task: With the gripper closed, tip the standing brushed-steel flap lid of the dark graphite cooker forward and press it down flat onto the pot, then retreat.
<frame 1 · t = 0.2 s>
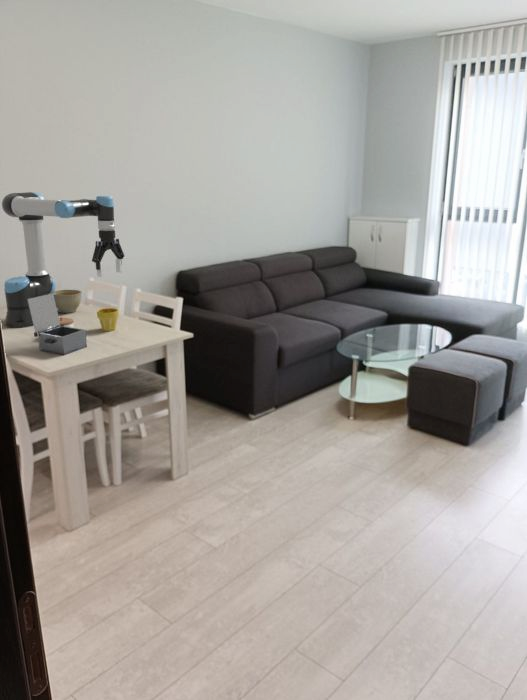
hand: (109, 274, 278), 28 cm above the table, fingers open, 13 cm apart
plant pot: (109, 329, 288), on the table
planter bowl: (68, 311, 323), on the table
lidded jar: (63, 336, 275), on the table
lid: (43, 313, 255), point 15 cm above the table, hinge at 100.0°
cooker: (63, 348, 256), on the table
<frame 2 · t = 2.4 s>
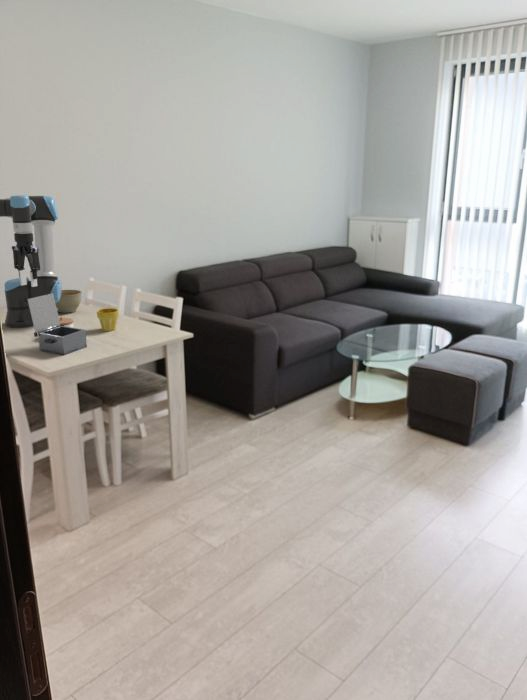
hand: (29, 285, 255), 27 cm above the table, fingers open, 6 cm apart
nothing on the table moved.
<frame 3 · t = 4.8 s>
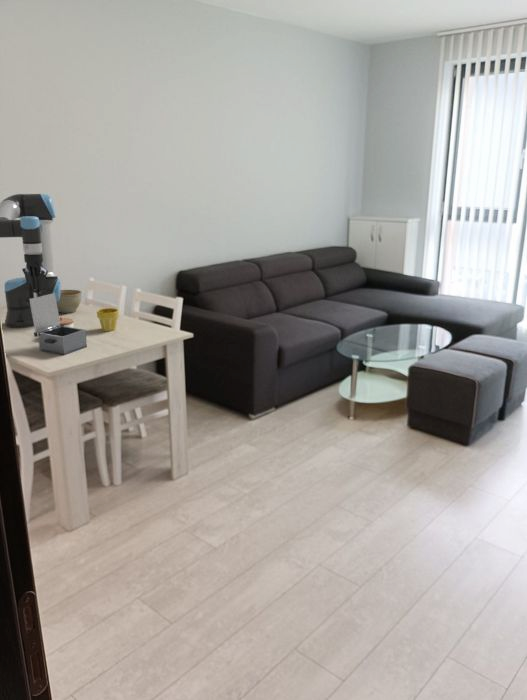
hand: (38, 306, 255), 18 cm above the table, fingers closed
lid: (44, 313, 255), point 15 cm above the table, hinge at 95.5°, touching gripper
everything else where it was.
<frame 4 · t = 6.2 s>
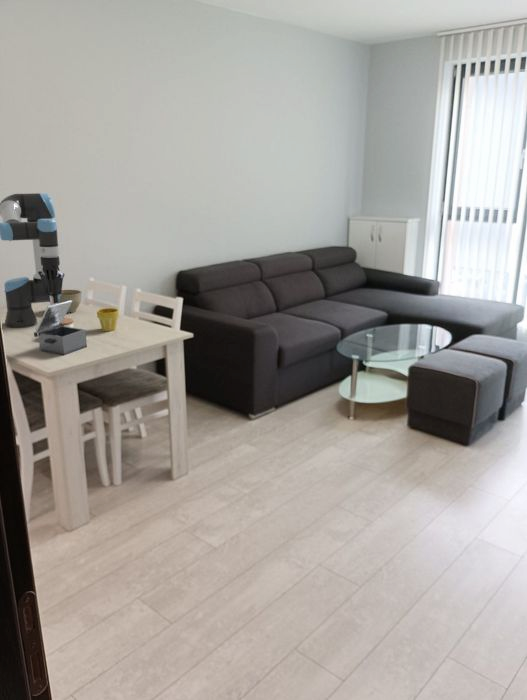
hand: (54, 310, 252), 17 cm above the table, fingers closed
lid: (53, 315, 253), point 15 cm above the table, hinge at 54.6°, touching gripper
everything else where it was.
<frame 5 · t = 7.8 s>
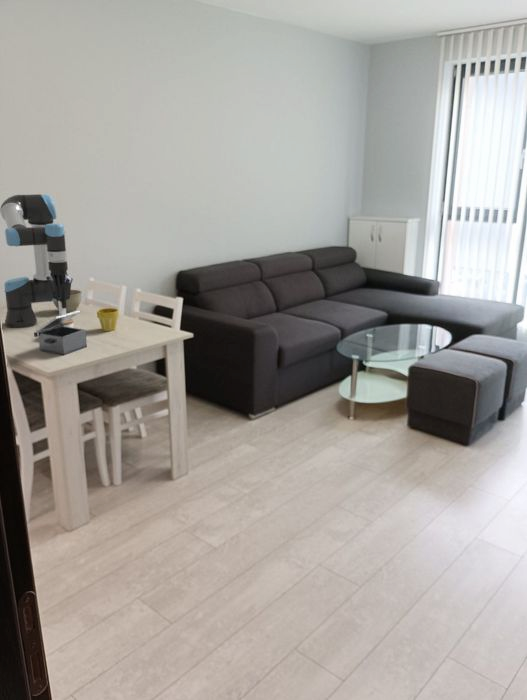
hand: (62, 315, 251), 16 cm above the table, fingers closed
lid: (57, 320, 253), point 13 cm above the table, hinge at 31.5°, touching gripper
everything else where it was.
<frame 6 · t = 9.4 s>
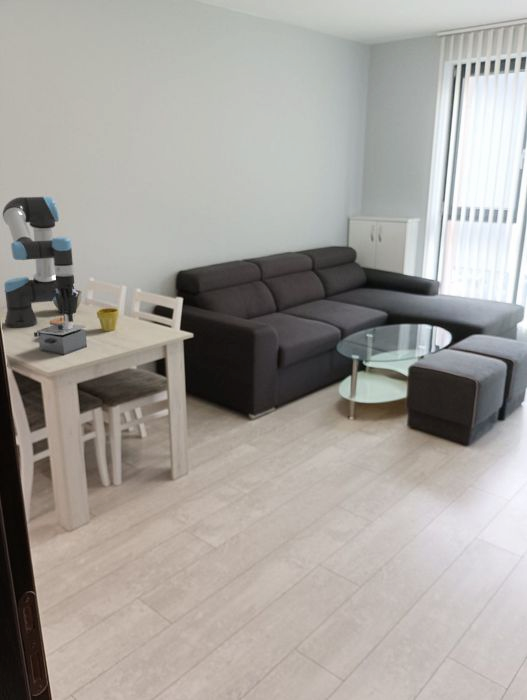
hand: (69, 328, 251), 10 cm above the table, fingers closed
lid: (60, 328, 253), point 9 cm above the table, hinge at 3.2°, touching gripper
everything else where it was.
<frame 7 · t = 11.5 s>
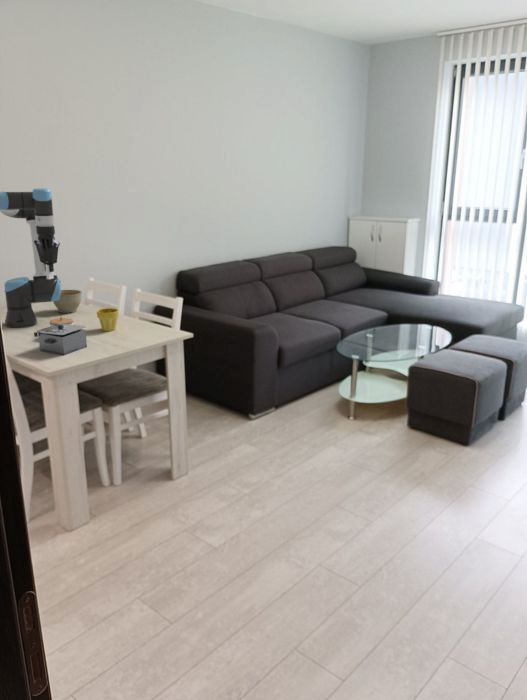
hand: (50, 278, 258), 29 cm above the table, fingers closed
lid: (60, 328, 253), point 9 cm above the table, hinge at 3.2°
everything else where it was.
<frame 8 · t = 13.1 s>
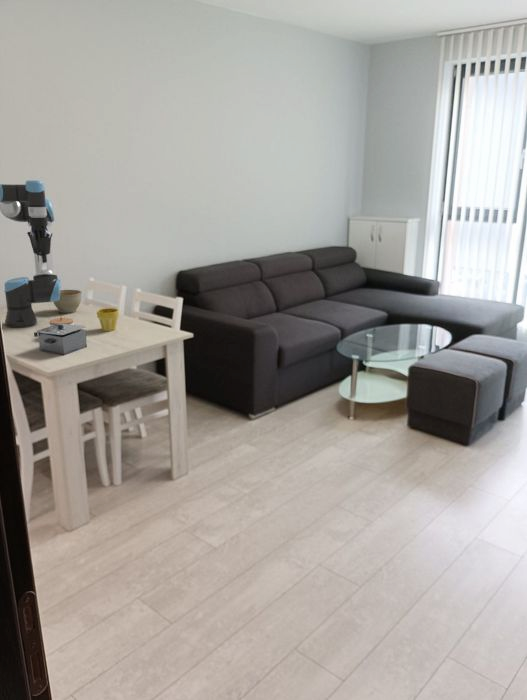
hand: (43, 269, 262), 32 cm above the table, fingers closed
nothing on the table moved.
at the end: lid at +3° (first picture: +100°) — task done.
